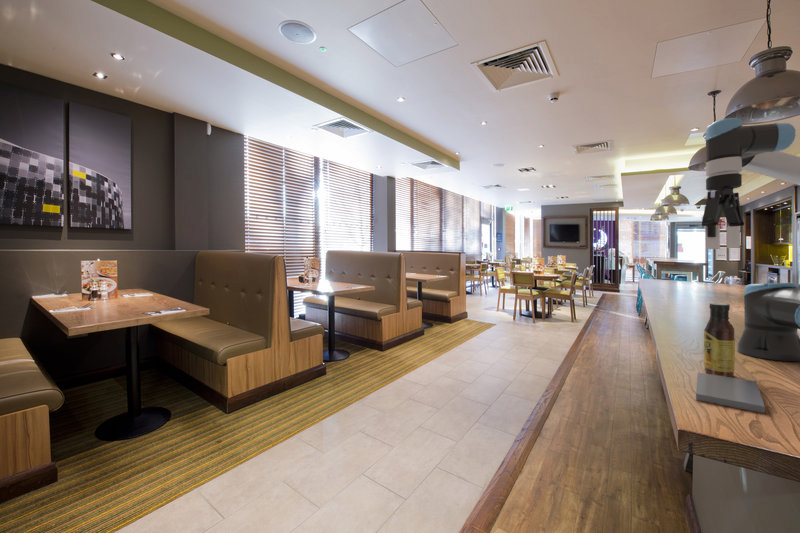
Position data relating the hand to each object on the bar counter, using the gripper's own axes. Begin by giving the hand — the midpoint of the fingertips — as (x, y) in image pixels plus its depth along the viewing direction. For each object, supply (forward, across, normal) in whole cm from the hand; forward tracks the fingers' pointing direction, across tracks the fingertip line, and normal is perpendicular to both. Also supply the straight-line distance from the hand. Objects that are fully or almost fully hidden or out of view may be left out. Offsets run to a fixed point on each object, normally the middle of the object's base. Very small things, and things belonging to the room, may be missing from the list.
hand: (723, 248), depth 100 cm
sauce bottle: (+35, +9, +2) cm, 36 cm away
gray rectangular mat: (+35, +23, +8) cm, 43 cm away
